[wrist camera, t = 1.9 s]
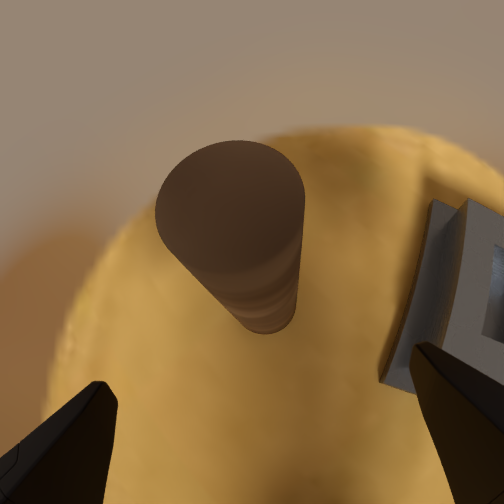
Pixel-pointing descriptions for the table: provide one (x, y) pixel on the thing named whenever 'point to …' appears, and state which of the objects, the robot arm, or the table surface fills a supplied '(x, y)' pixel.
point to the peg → (238, 228)
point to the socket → (455, 293)
